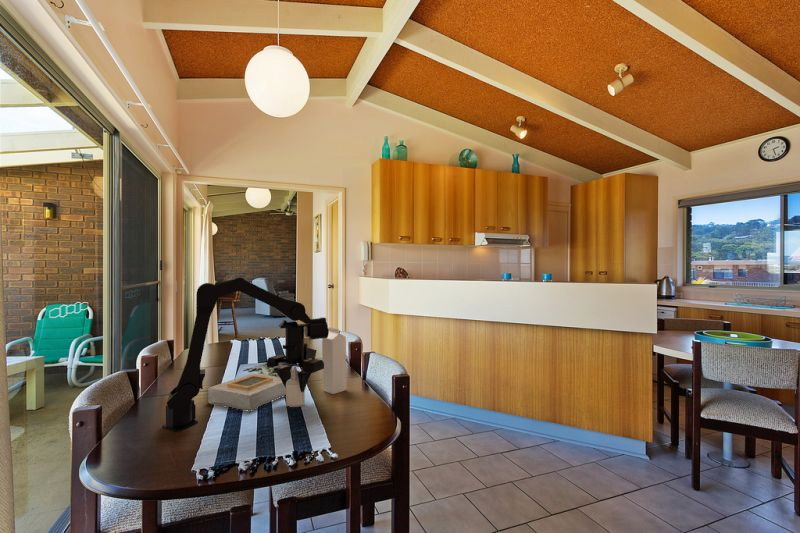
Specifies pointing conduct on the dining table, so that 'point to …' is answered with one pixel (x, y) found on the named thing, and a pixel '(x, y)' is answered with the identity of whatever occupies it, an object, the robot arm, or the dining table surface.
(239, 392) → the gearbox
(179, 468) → the dining table surface
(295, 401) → the eye dropper bottle
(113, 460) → the dining table surface
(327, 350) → the milk
